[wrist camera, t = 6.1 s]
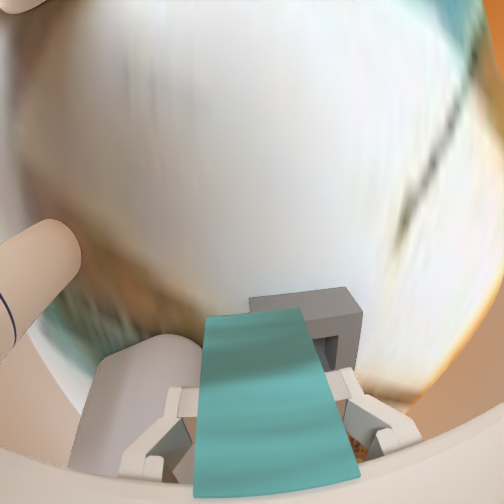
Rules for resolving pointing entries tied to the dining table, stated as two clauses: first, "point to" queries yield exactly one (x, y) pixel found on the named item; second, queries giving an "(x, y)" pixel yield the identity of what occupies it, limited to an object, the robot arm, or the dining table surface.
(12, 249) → the cylindrical container
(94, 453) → the plastic bottle
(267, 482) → the teal pin
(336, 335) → the bore block
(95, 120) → the dining table surface
